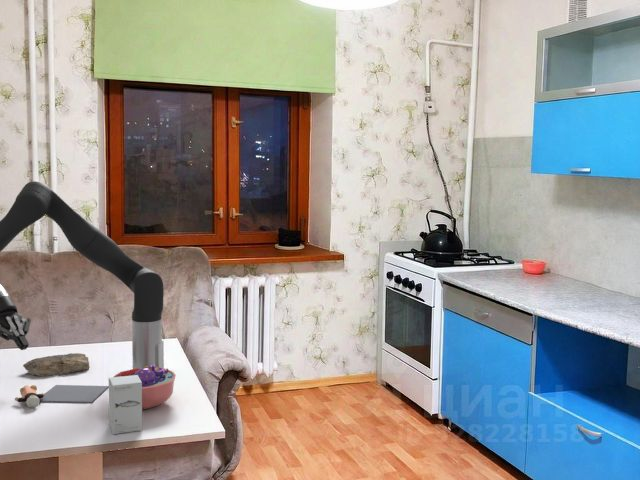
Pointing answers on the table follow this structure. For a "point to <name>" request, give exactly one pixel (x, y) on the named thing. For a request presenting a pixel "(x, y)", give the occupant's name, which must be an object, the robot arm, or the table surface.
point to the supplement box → (125, 404)
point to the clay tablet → (57, 364)
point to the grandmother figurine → (30, 396)
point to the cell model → (153, 384)
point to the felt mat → (73, 393)
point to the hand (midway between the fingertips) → (24, 348)
